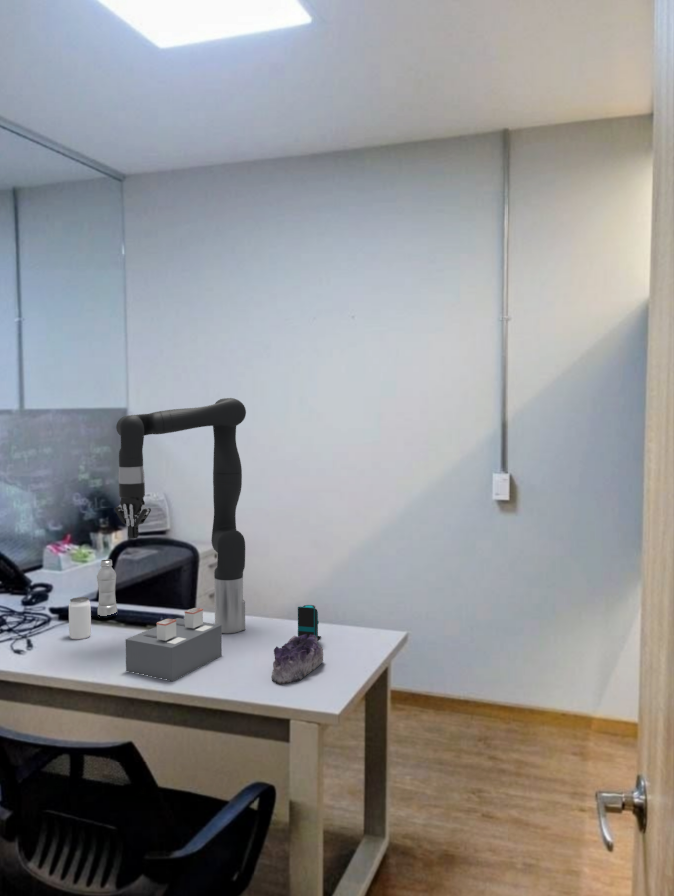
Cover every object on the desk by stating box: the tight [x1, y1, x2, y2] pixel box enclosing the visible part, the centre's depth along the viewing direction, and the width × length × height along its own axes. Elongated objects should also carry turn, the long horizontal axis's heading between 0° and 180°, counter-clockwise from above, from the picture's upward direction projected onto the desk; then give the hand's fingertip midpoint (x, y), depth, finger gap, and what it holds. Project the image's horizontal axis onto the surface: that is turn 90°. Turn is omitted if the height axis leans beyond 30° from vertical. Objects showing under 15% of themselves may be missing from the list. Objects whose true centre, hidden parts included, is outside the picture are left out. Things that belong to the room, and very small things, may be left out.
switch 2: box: [184, 607, 204, 628], centre depth 202 cm, size 3×4×4 cm
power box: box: [125, 617, 223, 682], centre depth 197 cm, size 16×22×9 cm
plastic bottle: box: [96, 558, 118, 616], centre depth 241 cm, size 6×7×20 cm
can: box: [68, 596, 92, 641], centre depth 221 cm, size 6×6×12 cm
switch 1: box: [155, 618, 176, 641], centre depth 191 cm, size 3×4×4 cm
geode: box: [271, 634, 324, 686], centre depth 191 cm, size 20×12×10 cm, turn 160°
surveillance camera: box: [297, 604, 322, 642], centre depth 216 cm, size 6×12×10 cm
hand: (133, 538), depth 213 cm, fingers closed
